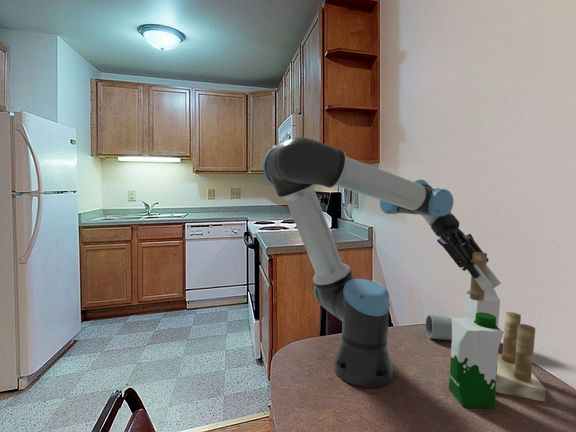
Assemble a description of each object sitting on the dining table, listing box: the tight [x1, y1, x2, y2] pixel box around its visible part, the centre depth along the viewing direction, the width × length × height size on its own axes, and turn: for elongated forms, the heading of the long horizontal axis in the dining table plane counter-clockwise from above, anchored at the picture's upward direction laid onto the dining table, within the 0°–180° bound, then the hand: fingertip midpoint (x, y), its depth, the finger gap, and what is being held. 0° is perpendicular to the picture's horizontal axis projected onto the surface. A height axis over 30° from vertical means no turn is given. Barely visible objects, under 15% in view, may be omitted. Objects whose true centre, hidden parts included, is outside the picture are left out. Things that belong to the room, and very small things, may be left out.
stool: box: [496, 311, 547, 402], centre depth 83 cm, size 16×16×16 cm
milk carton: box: [463, 287, 501, 328], centre depth 104 cm, size 7×7×19 cm
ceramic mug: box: [425, 314, 452, 341], centre depth 108 cm, size 11×8×8 cm
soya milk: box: [448, 313, 504, 410], centre depth 74 cm, size 9×9×20 cm
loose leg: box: [469, 251, 488, 301], centre depth 88 cm, size 3×3×13 cm
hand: (492, 286), depth 85 cm, fingers closed on loose leg, 3 cm apart
